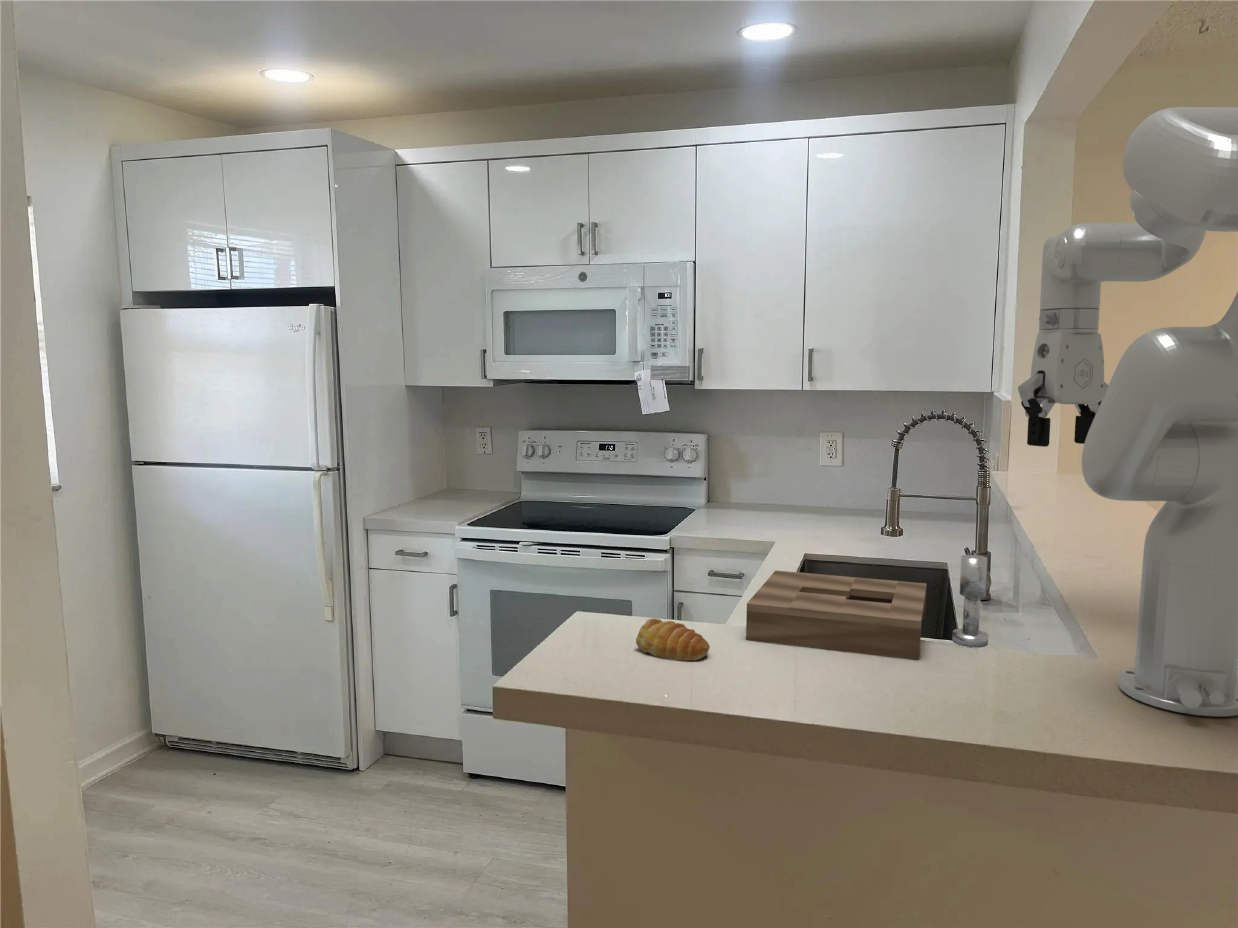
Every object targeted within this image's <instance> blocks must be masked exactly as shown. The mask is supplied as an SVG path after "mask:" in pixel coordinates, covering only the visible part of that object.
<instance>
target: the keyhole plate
mask: <svg viewBox="0 0 1238 928" xmlns="http://www.w3.org/2000/svg"><path fill="white" fill-rule="evenodd" d="M926 601H927V583H925V582H912V581H903V580H889V579H878V578H866V577H854V576H853V577H852V576H844V575H831V574H823V573H822V574H821V573H820V574H819V573H811V572H810V573H809V572H799V571H798V572H797V571H788V570H787V571H786V570H777V569H775V570H774V571H773V572H772V574H771V575H770V576H769V577H768V579H766V581H765V582H764V583H763V584H762V586H761V587H760V588H759V589H758V590H757V591H756V592H755V593H754V595H752V597H751V598H750V599H749V600H748V601H747V603H746V620H745V621H746V624H745V625H746V627H745V631H746V632H745V641H754V642H760V643H761V642H762V643H770V644H777V645H778V644H780V645H788V646H796V647H804V648H812V649H819V650H820V649H821V650H822V649H823V650H831V651H838V652H848V653H855V654H856V653H857V654H862V655H863V654H864V655H873V656H879V657H880V656H881V657H891V658H896V659H897V658H900V659H907V660H917V661H920V657H921V641H922V640H921V638H922V637H921V636H922V634H921V633H922V622H923V620H926V608H927V607H926V604H927V602H926Z"/></svg>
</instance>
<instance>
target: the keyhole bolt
mask: <svg viewBox="0 0 1238 928" xmlns="http://www.w3.org/2000/svg"><path fill="white" fill-rule="evenodd" d="M987 572H988V557H986V556H983V555H977V554H964V555H961V557H960V575H959V576H960V577H959V578H960V579H959V595H960V596H962V597H963V609H962V610H963V612H962V613H963V614H962V615H963V616H962V628H956V629H953V630H952V640H951V641H952V642H953V643H954V644H956V645H958V646H962V647H968V648H984V647H987V646H988V645H989V634H988V633H987V632H985V631H982V630H980V614H981V612H980V611H981V598H985V597H986V596H987V595H986V593H987V574H988V573H987Z"/></svg>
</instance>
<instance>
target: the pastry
mask: <svg viewBox="0 0 1238 928" xmlns="http://www.w3.org/2000/svg"><path fill="white" fill-rule="evenodd" d="M635 644H636V645H637V646H638V648H639V649H640V650H641V651H642V652H643V653H645V654H646V653H650V654H651V656H655V657H657V658H663V659H664V658H665V659H667V660H674V661H682V662H683V661H684V662H686V661H698V660H700V659H701V660H702V658H703V657H706V656H707V655H708V653H709V650H710V648H711V647H710V644H709V642H708V641H707V640H706V639H705V638H703V636H702V634H699V633H697V632H696V631H695V630H694V629H690V628H688V627H687V626H686V625H685V624H683V623H679V622H675V621H673V620H668V621H663V620H662V619H660V618H650V619H648V620H646V621H645V623H644V624H643V625H641V627H640V629H639V631H638V633H637V636H636V639H635Z"/></svg>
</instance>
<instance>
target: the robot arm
mask: <svg viewBox="0 0 1238 928" xmlns="http://www.w3.org/2000/svg"><path fill="white" fill-rule="evenodd" d="M1128 138H1129V139H1128V140H1127V142H1126V145H1125V148H1124V151H1123V155H1122V172H1123V178H1124V179H1125V182H1126V184H1127V185H1128V187H1129V188H1130V189H1131V192H1130V197H1129V205H1130V211H1131V213H1132V216H1133V218H1134V220H1135V221H1136V222H1082V223H1076V224H1073V225H1070V226H1068V227H1067V228H1066V229H1065V230H1063V231H1062V232H1061V233H1057V234H1054V235H1050V236H1049V237H1048V238H1047V239H1045V241H1044V243H1043V248H1042V259H1041V260H1042V261H1041V280H1040V281H1041V283H1040V301H1039V317H1038V322H1039V323H1038V332H1037V335H1036V340H1035V343H1034V348H1033V353H1032V360H1031V368H1030V370H1031V371H1030V378H1028V379H1027V380H1025V381H1024V382H1022V383H1021V384H1019V385H1018V388H1017V391H1018V394H1019V397H1020V400H1021V401H1020V402H1021V403H1020V404H1021V406H1022V408H1023V410H1024V411H1025V412H1024V415H1025V417H1026V418H1027V435H1026V436H1027V437H1026V439H1027V441H1026V443H1027V445H1028V446H1033V447H1034V446H1035V447H1049V446H1050V434H1051V417H1048V415H1049V413H1050V412H1051V410H1052V409H1053V407H1054V406H1055V404H1059V405H1074V406H1075V408H1076V411H1077V412H1078V414H1079V415H1075V421H1074V422H1075V423H1074V440H1073V441H1074V443H1075V444H1080V445H1081V444H1083V448H1082V452H1081V453H1082V454H1081V471H1082V475H1083V478H1084V481H1085V483H1086V485H1087V486H1088V488H1090V490H1091V491H1092V492H1094V493H1095V494H1096V495H1097V496H1100V497H1102V498H1105V499H1109V500H1113V501H1121V502H1122V501H1124V502H1126V501H1127V502H1164V504H1163V505H1162V507H1161V508H1160V510H1158V512H1157V514H1155V516H1154V518H1153V519H1152V521H1151V523H1150V524H1149V526H1148V529H1147V532H1146V534H1145V537H1144V544H1143V554H1142V556H1143V557H1142V567H1141V568H1142V570H1141V580H1140V593H1139V605H1138V606H1139V607H1138V609H1139V610H1138V621H1137V635H1136V648H1135V650H1136V651H1135V662H1134V667H1133V668H1127V669H1125V670H1122V671H1121V672H1120V673H1119V674H1118V679H1117V681H1118V682H1117V685H1118V687H1119V689H1120V690H1121V691H1122V692H1123V693H1124V694H1125V695H1127V696H1128V697H1131V698H1132V699H1134V700H1136V701H1138V702H1140V703H1141V702H1142V703H1144V704H1147V705H1149V706H1152V707H1156V708H1158V709H1162V710H1166V711H1170V712H1175V713H1181V714H1187V715H1191V716H1200V717H1201V716H1202V717H1216V718H1220V717H1223V718H1225V717H1235V716H1238V685H1237V684H1236V683H1237V675H1238V674H1237V672H1238V671H1237V670H1238V291H1237V292H1236V294H1235V296H1234V298H1233V300H1232V302H1231V304H1230V305H1229V307H1228V309H1227V311H1226V312H1225V314H1224V316H1223V317H1222V318H1221V319H1220V320H1219V321H1218V322H1216V323H1214V324H1212V325H1208V326H1171V327H1169V326H1168V327H1162V328H1161V327H1160V328H1155V329H1153V330H1150V331H1147V332H1145V333H1144V334H1141V336H1139V337H1137V338H1136V339H1135V340H1134V341H1133V342H1132V343H1131V344H1130V345H1129V346H1127V349H1126V350H1125V351H1124V353H1123V354H1122V356H1121V358H1120V360H1118V361H1119V362H1118V364H1117V365H1116V368H1115V370H1114V372H1113V375H1112V377H1111V379H1110V382H1109V383H1107V382H1105V357H1104V355H1105V354H1104V346H1103V339H1102V334H1101V333H1099V327H1100V324H1099V323H1100V307H1101V306H1100V304H1101V292H1102V291H1101V290H1102V289H1101V288H1102V283H1103V282H1131V283H1137V282H1142V283H1143V282H1151V281H1155V280H1158V279H1161V278H1163V277H1165V276H1167V275H1170V274H1171V273H1173V272H1174V271H1176V270H1178V269H1180V268H1181V267H1182V266H1185V265H1186V264H1188V263H1189V262H1190V261H1191V260H1192V259H1193V258H1194V257H1195V256H1196V255H1197V253H1198V252H1199V250H1200V247H1201V246H1202V244H1203V242H1204V240H1205V235H1206V232H1221V233H1224V232H1225V233H1227V232H1228V233H1229V232H1231V233H1232V232H1238V106H1222V107H1221V106H1219V107H1217V106H1212V107H1211V106H1208V107H1207V106H1202V107H1201V106H1176V107H1167V108H1163V109H1161V110H1158V111H1156V112H1154V113H1152V114H1150V115H1149V116H1148V117H1146V118H1145V119H1143V120H1142V121H1141V122H1140V124H1138V125H1137V127H1136V128H1135V129H1134V130H1133V132H1132V133H1131V135H1130V137H1128Z"/></svg>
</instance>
